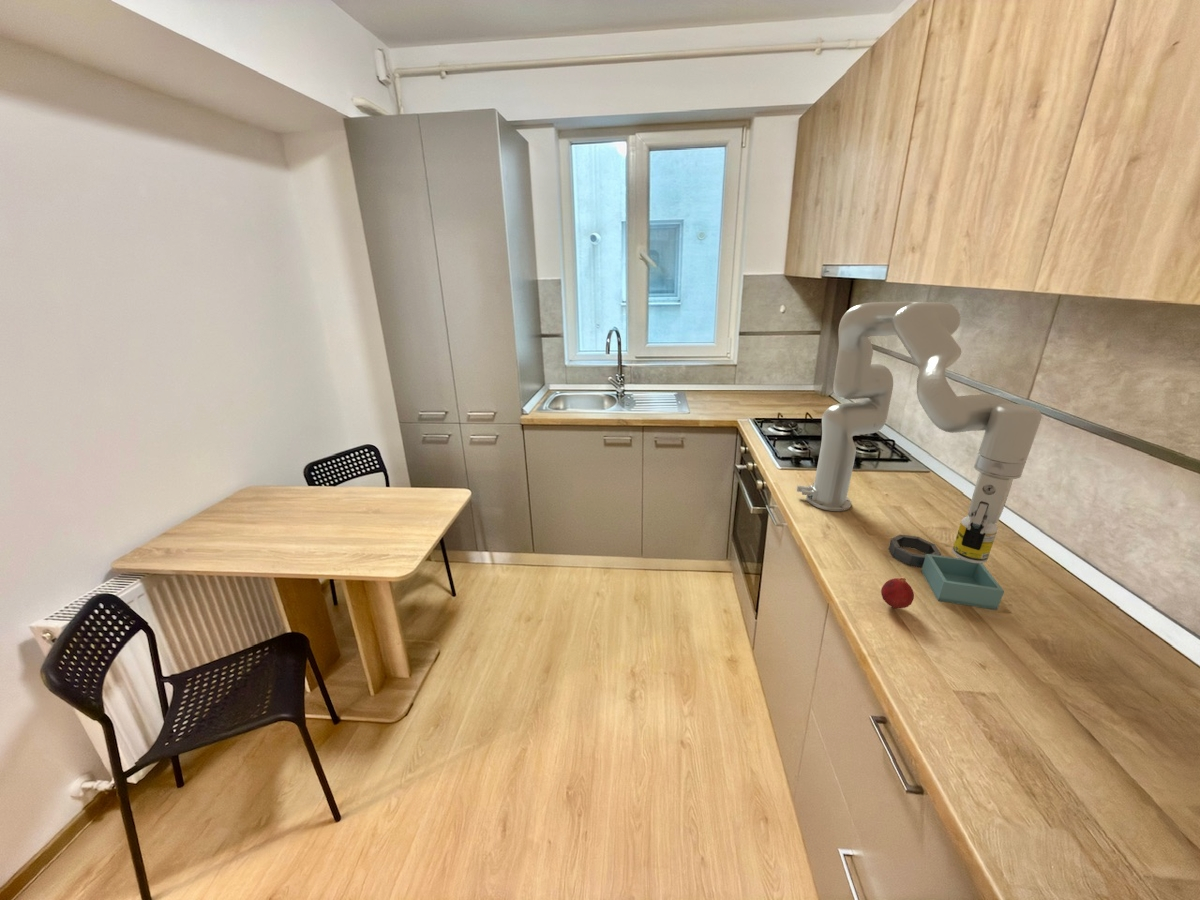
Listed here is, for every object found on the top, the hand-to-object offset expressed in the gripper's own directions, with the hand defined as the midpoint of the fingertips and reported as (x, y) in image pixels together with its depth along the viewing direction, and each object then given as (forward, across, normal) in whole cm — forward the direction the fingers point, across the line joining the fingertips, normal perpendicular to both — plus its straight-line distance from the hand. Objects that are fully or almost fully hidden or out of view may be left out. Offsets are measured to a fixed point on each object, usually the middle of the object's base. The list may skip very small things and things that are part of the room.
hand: (973, 540), depth 101 cm
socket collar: (+13, +8, +11) cm, 19 cm away
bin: (+13, 0, 0) cm, 13 cm away
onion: (+13, -17, +8) cm, 23 cm away
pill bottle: (+4, 0, 0) cm, 4 cm away
